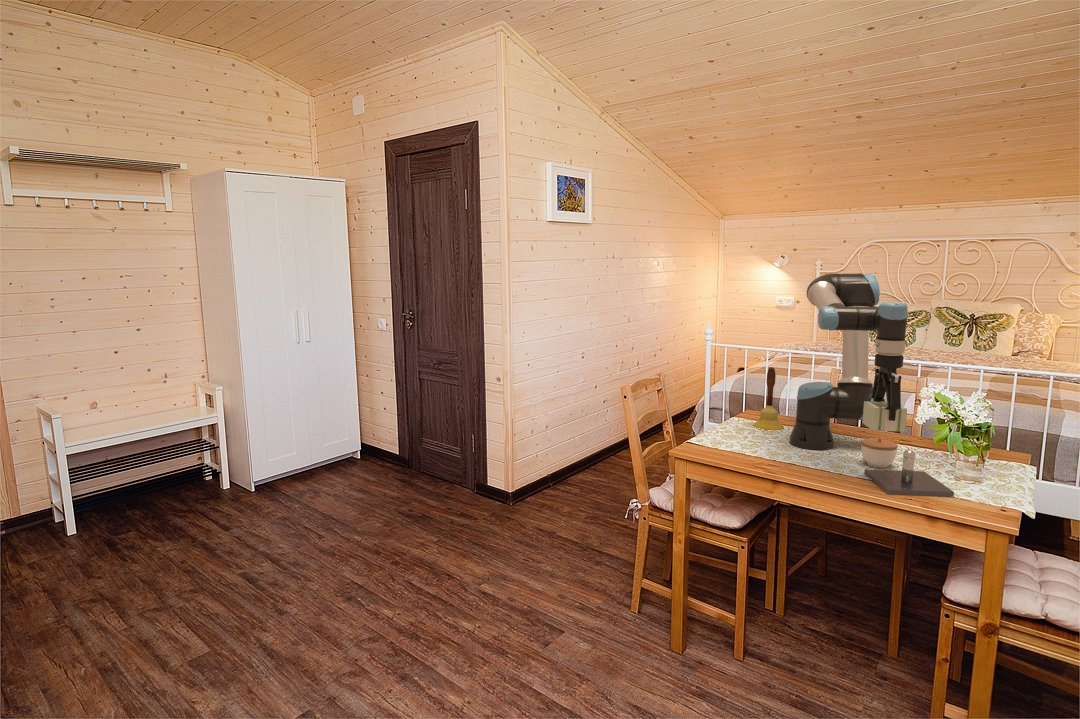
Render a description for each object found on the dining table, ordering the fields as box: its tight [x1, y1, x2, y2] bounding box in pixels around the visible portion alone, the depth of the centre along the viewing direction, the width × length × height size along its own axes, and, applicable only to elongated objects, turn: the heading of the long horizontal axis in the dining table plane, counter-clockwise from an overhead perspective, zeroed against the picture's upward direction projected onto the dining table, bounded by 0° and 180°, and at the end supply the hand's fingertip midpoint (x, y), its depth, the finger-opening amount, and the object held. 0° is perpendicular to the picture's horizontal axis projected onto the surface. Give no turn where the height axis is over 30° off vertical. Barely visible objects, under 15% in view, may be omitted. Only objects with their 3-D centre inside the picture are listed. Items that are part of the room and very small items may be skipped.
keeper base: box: [863, 449, 955, 498], centre depth 188 cm, size 18×18×11 cm
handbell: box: [752, 366, 785, 431], centre depth 254 cm, size 12×12×25 cm
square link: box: [862, 401, 908, 433], centre depth 188 cm, size 9×9×7 cm
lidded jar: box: [860, 437, 899, 469], centre depth 207 cm, size 11×11×9 cm
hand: (883, 426), depth 189 cm, fingers closed on square link, 9 cm apart
